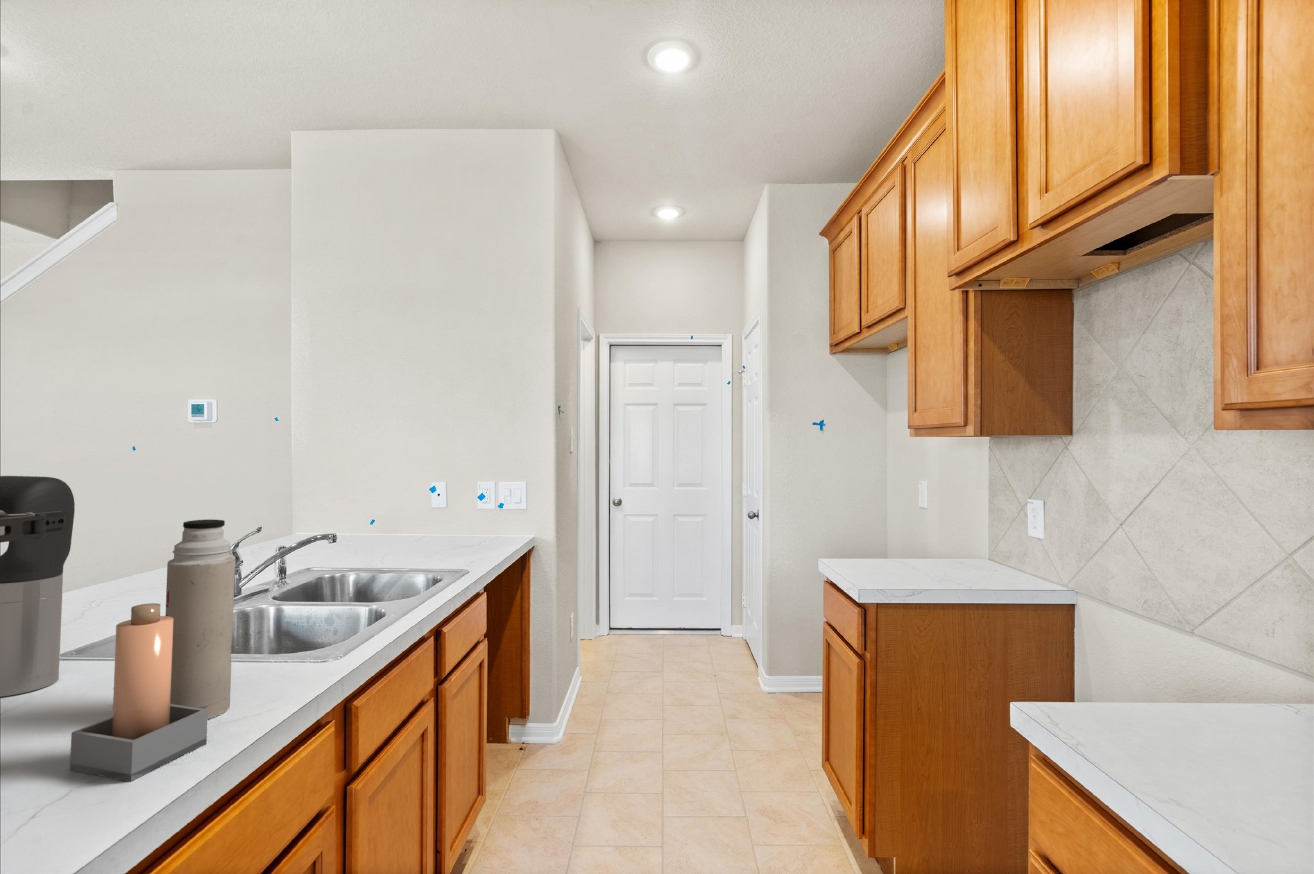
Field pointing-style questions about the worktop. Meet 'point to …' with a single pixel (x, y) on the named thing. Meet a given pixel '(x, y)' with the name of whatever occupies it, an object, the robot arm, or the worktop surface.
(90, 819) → the worktop surface
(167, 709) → the oil bottle
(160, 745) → the bin
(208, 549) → the thermos bottle
